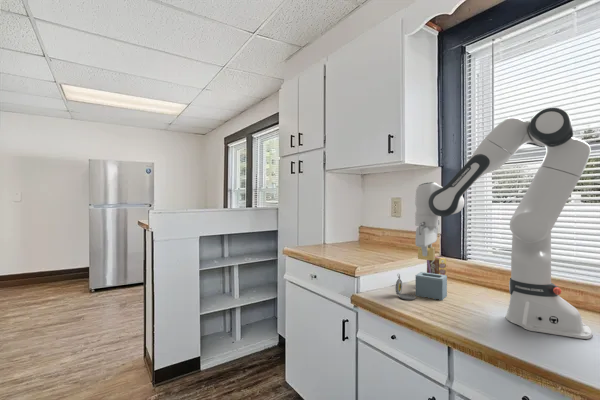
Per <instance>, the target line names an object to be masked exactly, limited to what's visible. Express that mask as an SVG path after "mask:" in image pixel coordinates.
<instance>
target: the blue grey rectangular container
mask: <svg viewBox="0 0 600 400" xmlns="http://www.w3.org/2000/svg"><path fill="white" fill-rule="evenodd" d="M420 296H421V297H420ZM447 296H448V276H447V274H446V275H440V274H433V273H427V272H424V271H420V272H419V273H417V274H415V297H420V298H425V297H428V298H427V299H430V298H434V299H433V300H436V299H439V300H438V301H441V300H443V299H444V298H445V297H446V298H447ZM446 298H445V299H446ZM445 299H444V300H445ZM444 300H443V301H444Z"/></svg>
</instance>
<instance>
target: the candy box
mask: <svg viewBox="0 0 600 400" xmlns="http://www.w3.org/2000/svg"><path fill="white" fill-rule="evenodd" d="M426 273H433V274H440V275H447V258H445V257H441V256H437V255H435V260H433V261H432V260H426Z"/></svg>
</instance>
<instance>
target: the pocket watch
mask: <svg viewBox="0 0 600 400" xmlns="http://www.w3.org/2000/svg"><path fill="white" fill-rule="evenodd" d="M397 278H398V279H397V281H396V283H395V294H396V295H398V297H399V298H400V299H402V300H406V301H407V300H408V301H413V300H415V299H416V295H414V294H410V293H402V290H403V281H402V280H401V274H400V273H398V276H397Z"/></svg>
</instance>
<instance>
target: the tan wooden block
mask: <svg viewBox="0 0 600 400" xmlns="http://www.w3.org/2000/svg"><path fill="white" fill-rule="evenodd" d="M427 252H428V256H423V255H422V248H421V247H419V246H417V259H418V260H426V261H427V260H432V261H433V260H435V256H436V246H435V247H434V246H432V247H428V248H427Z"/></svg>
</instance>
